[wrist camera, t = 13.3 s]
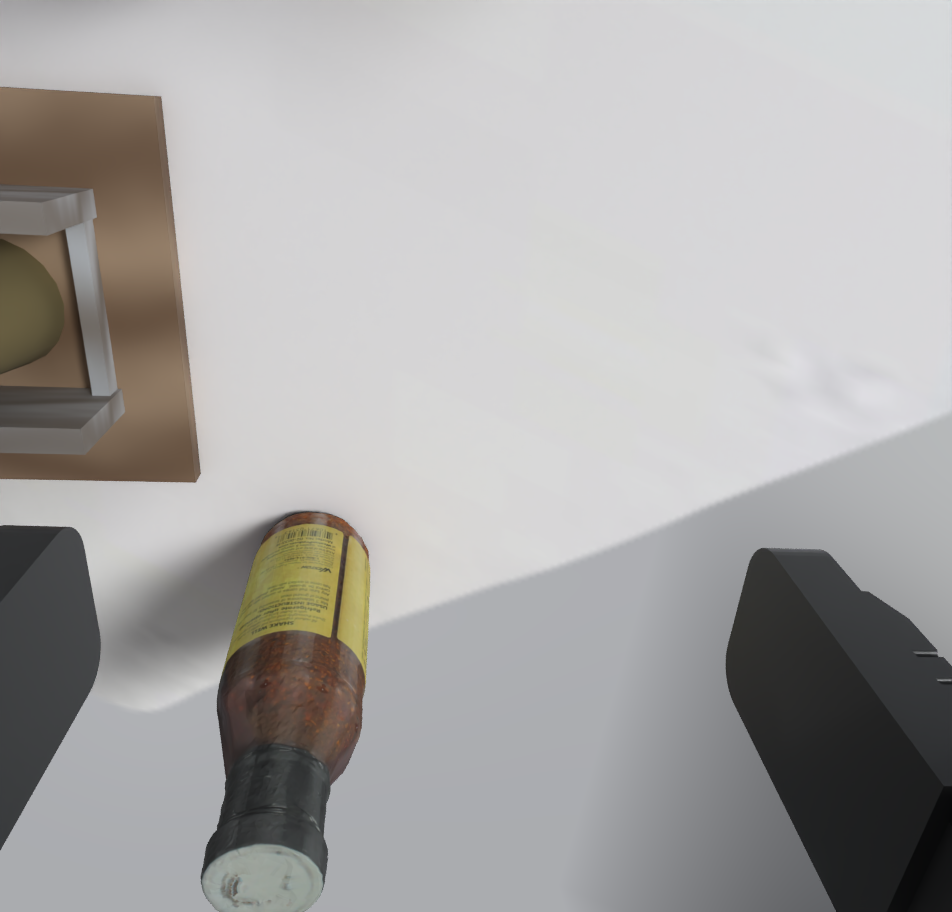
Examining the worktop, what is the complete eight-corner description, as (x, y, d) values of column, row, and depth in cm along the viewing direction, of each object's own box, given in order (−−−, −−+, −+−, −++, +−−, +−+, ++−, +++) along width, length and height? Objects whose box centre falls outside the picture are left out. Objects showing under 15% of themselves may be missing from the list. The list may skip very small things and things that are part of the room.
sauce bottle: (237, 561, 43) (105, 896, 25) (304, 484, 41) (216, 784, 23) (331, 621, 45) (274, 970, 27) (399, 550, 43) (386, 872, 25)
